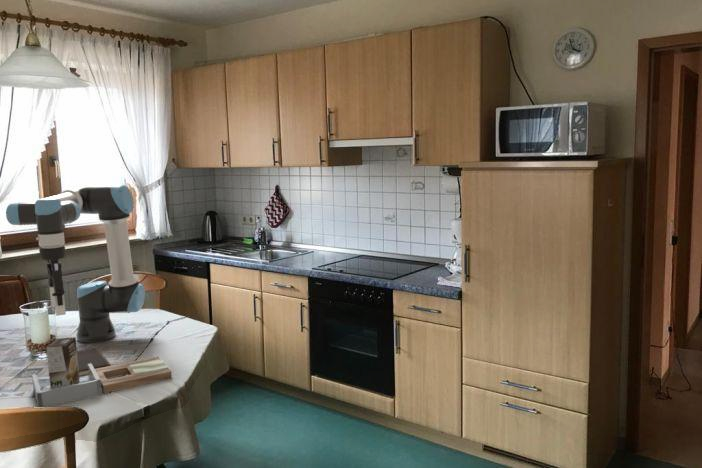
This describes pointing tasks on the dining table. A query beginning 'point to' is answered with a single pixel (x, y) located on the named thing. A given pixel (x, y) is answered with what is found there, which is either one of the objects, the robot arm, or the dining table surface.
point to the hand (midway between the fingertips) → (58, 310)
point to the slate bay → (68, 390)
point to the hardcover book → (90, 360)
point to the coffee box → (63, 362)
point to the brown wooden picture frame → (133, 374)
